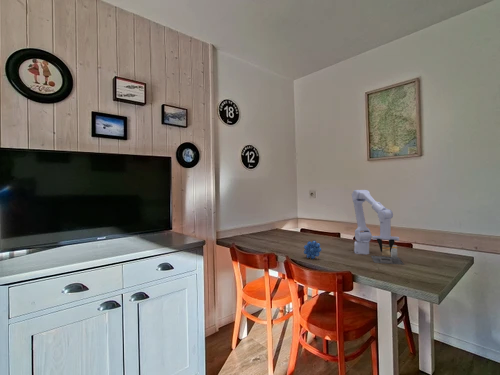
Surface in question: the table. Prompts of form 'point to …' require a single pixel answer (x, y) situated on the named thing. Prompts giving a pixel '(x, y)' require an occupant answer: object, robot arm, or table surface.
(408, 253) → the table surface
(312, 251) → the grapes
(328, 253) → the table surface
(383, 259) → the base board
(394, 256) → the post
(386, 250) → the taped cardboard box
